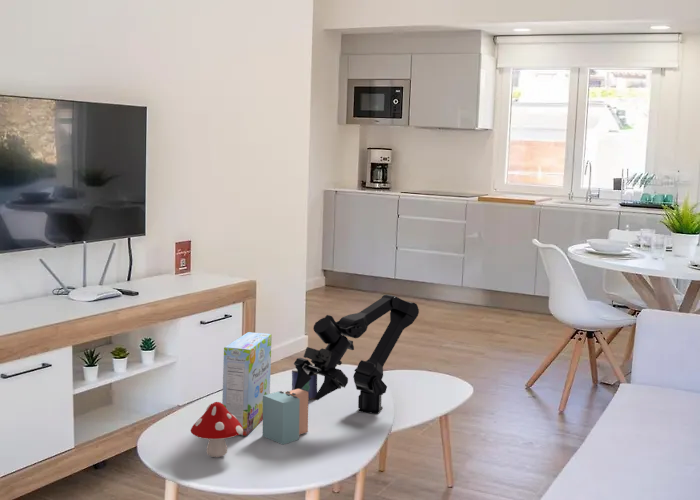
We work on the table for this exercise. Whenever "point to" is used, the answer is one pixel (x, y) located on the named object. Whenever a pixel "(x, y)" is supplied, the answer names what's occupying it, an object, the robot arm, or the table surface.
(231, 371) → the snack box
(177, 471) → the table surface
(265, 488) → the table surface
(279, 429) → the teal block
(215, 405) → the decorative mushroom
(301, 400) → the stub
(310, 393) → the flask
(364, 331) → the robot arm
